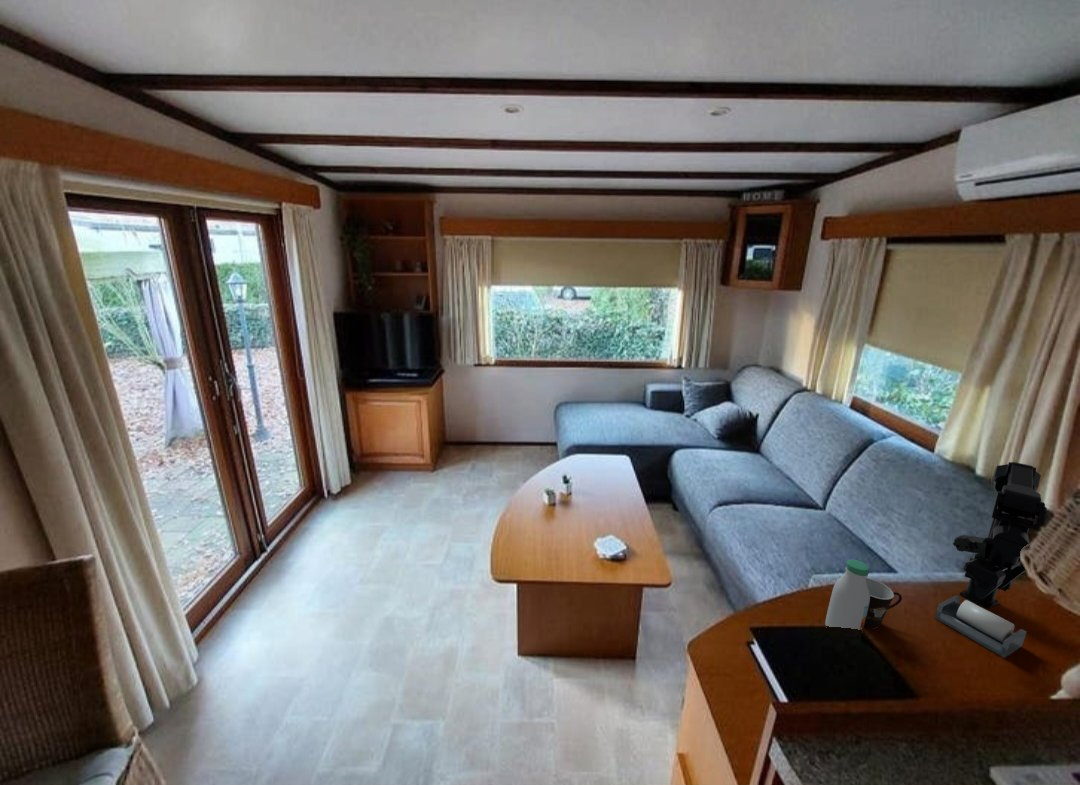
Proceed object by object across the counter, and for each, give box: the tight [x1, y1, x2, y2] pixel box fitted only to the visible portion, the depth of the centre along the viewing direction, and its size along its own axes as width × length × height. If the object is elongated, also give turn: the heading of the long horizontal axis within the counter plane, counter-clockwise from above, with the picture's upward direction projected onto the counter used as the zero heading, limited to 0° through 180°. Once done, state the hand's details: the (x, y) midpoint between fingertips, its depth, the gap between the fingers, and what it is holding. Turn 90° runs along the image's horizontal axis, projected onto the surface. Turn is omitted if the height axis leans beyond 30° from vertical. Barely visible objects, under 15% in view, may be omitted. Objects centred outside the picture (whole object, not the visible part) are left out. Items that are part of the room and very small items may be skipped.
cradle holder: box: [934, 594, 1028, 659], centre depth 112 cm, size 9×14×4 cm, turn 24°
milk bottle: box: [824, 559, 870, 632], centre depth 109 cm, size 8×8×20 cm
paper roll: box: [956, 599, 1015, 643], centre depth 111 cm, size 9×6×6 cm, turn 24°
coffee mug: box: [864, 577, 903, 629], centre depth 114 cm, size 12×9×10 cm
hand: (988, 593), depth 110 cm, fingers open, 9 cm apart
